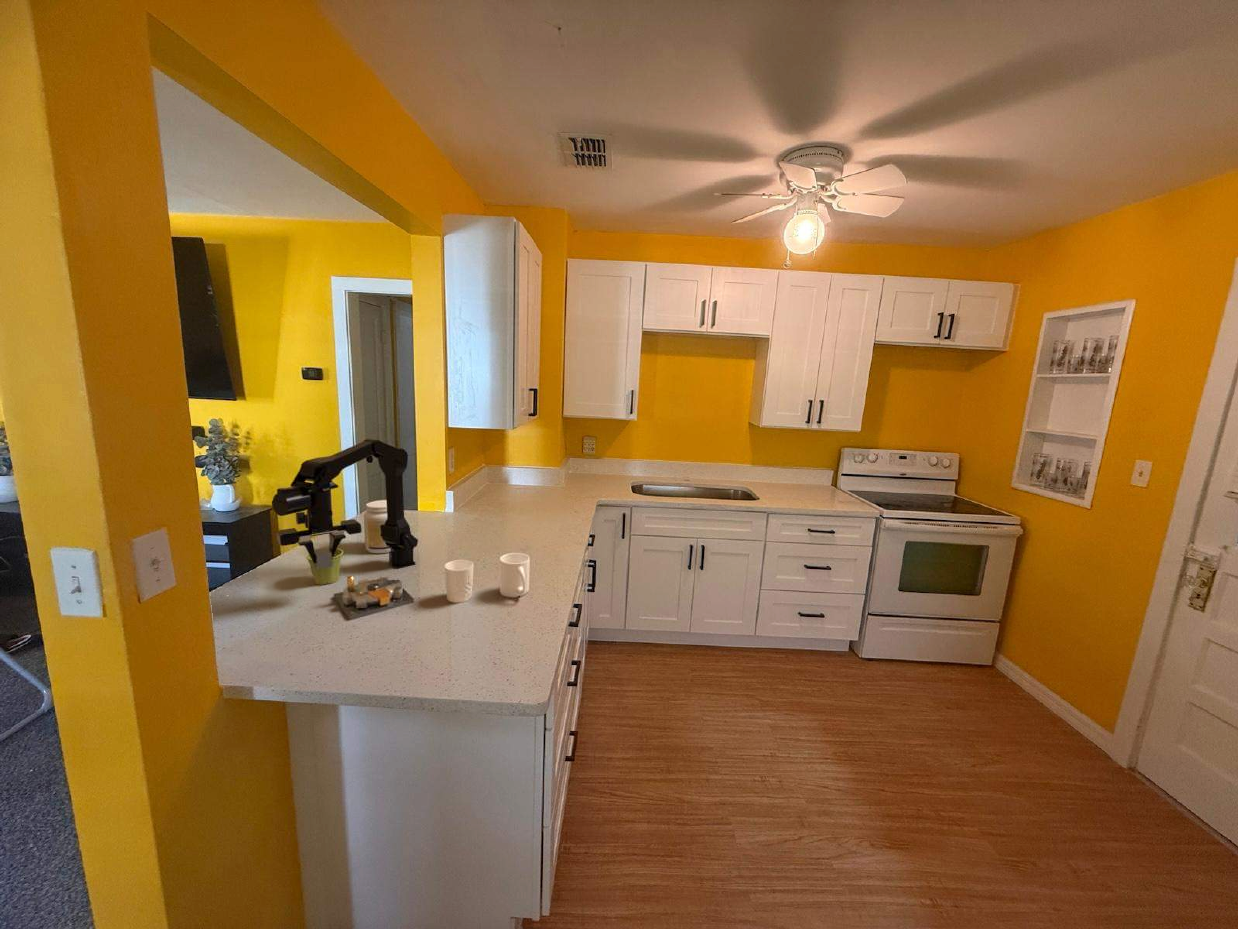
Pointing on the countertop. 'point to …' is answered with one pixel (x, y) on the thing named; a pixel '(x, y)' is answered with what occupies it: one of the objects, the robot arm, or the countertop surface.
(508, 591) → the mug
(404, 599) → the base plate
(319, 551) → the taupe rectangular block
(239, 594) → the countertop surface
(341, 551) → the plant pot
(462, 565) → the white cup
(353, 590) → the grey cog wheel
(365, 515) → the supplement tub
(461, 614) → the countertop surface
